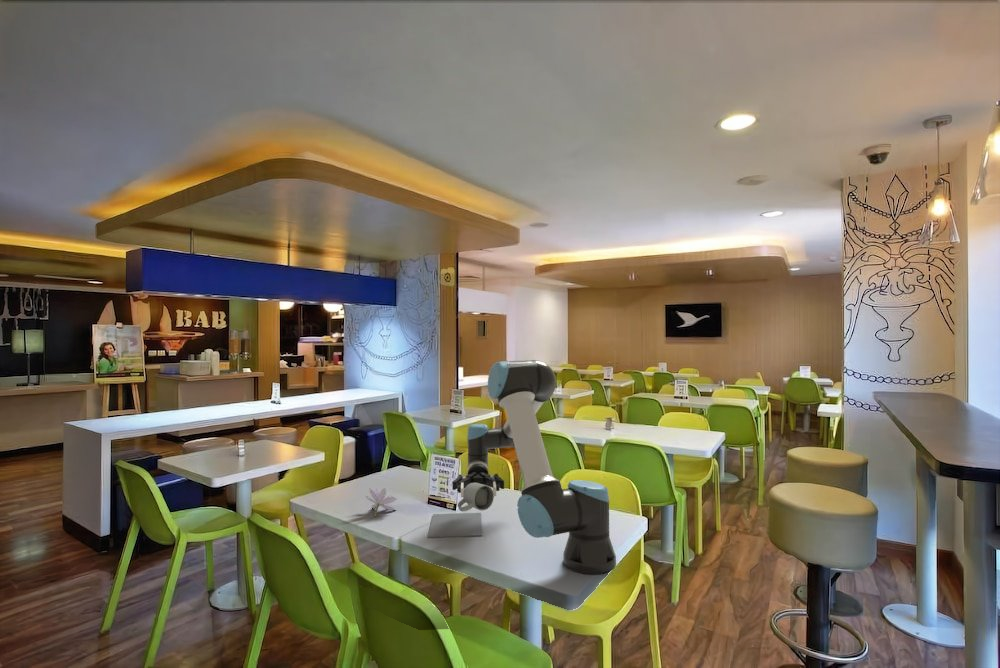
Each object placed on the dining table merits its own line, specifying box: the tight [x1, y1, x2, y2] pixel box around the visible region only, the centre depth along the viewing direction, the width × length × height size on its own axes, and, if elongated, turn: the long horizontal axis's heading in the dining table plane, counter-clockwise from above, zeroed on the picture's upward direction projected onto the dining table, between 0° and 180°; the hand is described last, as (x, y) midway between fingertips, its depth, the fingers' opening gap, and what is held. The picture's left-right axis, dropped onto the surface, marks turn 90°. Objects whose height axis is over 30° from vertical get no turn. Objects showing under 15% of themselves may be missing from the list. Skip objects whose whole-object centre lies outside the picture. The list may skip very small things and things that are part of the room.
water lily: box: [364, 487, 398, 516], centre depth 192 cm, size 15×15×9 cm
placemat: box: [427, 512, 483, 539], centre depth 179 cm, size 22×18×1 cm
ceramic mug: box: [457, 483, 495, 512], centre depth 161 cm, size 11×8×8 cm
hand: (478, 492), depth 158 cm, fingers closed on ceramic mug, 10 cm apart
